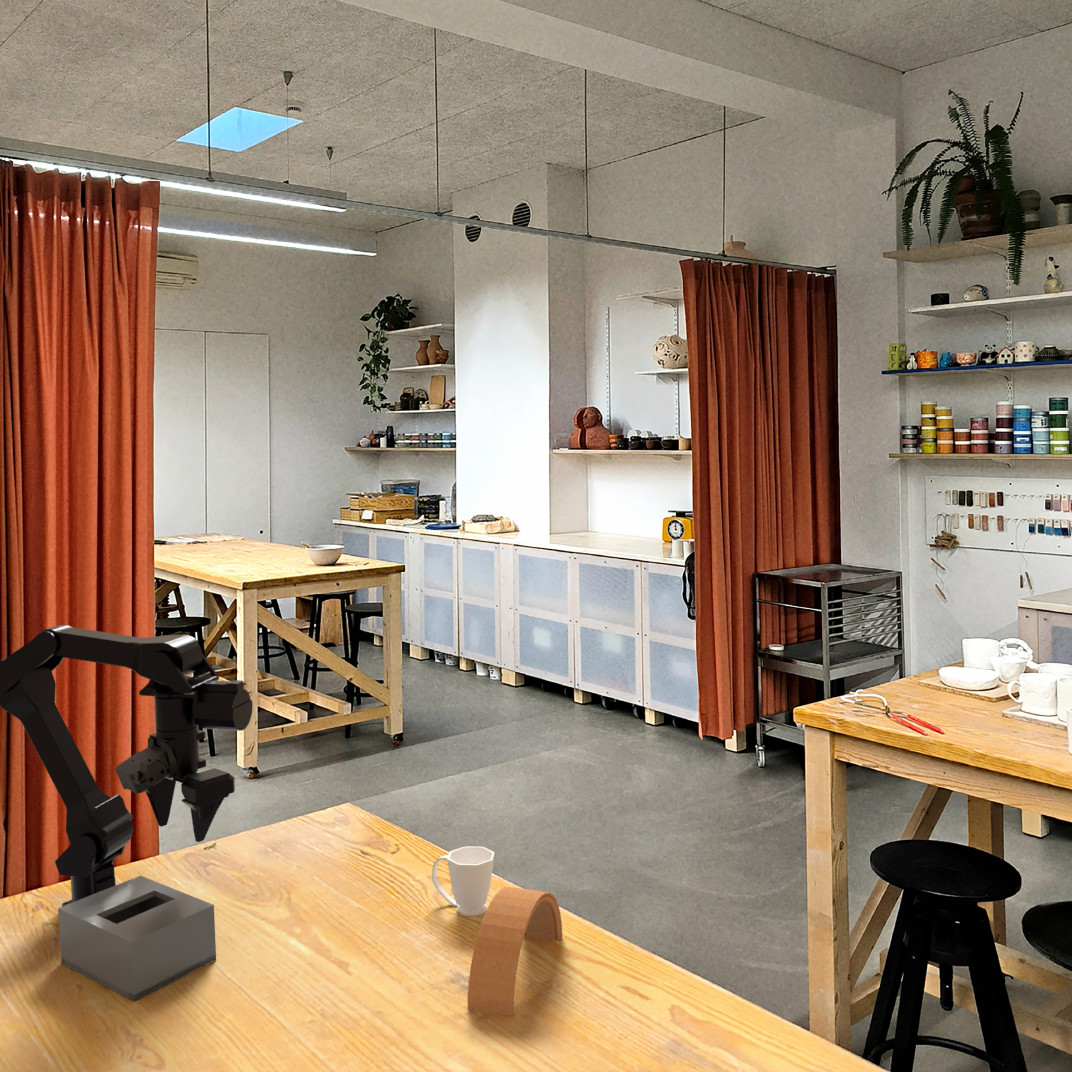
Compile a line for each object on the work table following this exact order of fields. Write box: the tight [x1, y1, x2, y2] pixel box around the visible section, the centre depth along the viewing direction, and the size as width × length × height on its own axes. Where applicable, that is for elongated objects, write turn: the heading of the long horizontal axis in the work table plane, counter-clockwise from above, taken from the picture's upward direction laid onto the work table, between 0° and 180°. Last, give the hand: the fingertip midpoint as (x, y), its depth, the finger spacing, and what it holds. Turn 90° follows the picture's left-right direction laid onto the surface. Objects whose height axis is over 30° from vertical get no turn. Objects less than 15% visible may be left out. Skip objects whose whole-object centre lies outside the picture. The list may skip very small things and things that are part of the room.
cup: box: [431, 845, 495, 917], centre depth 149 cm, size 7×10×8 cm
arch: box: [467, 886, 563, 1017], centre depth 131 cm, size 6×20×10 cm, turn 161°
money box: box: [57, 875, 217, 1002], centre depth 134 cm, size 16×12×8 cm
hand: (181, 833), depth 147 cm, fingers open, 9 cm apart
